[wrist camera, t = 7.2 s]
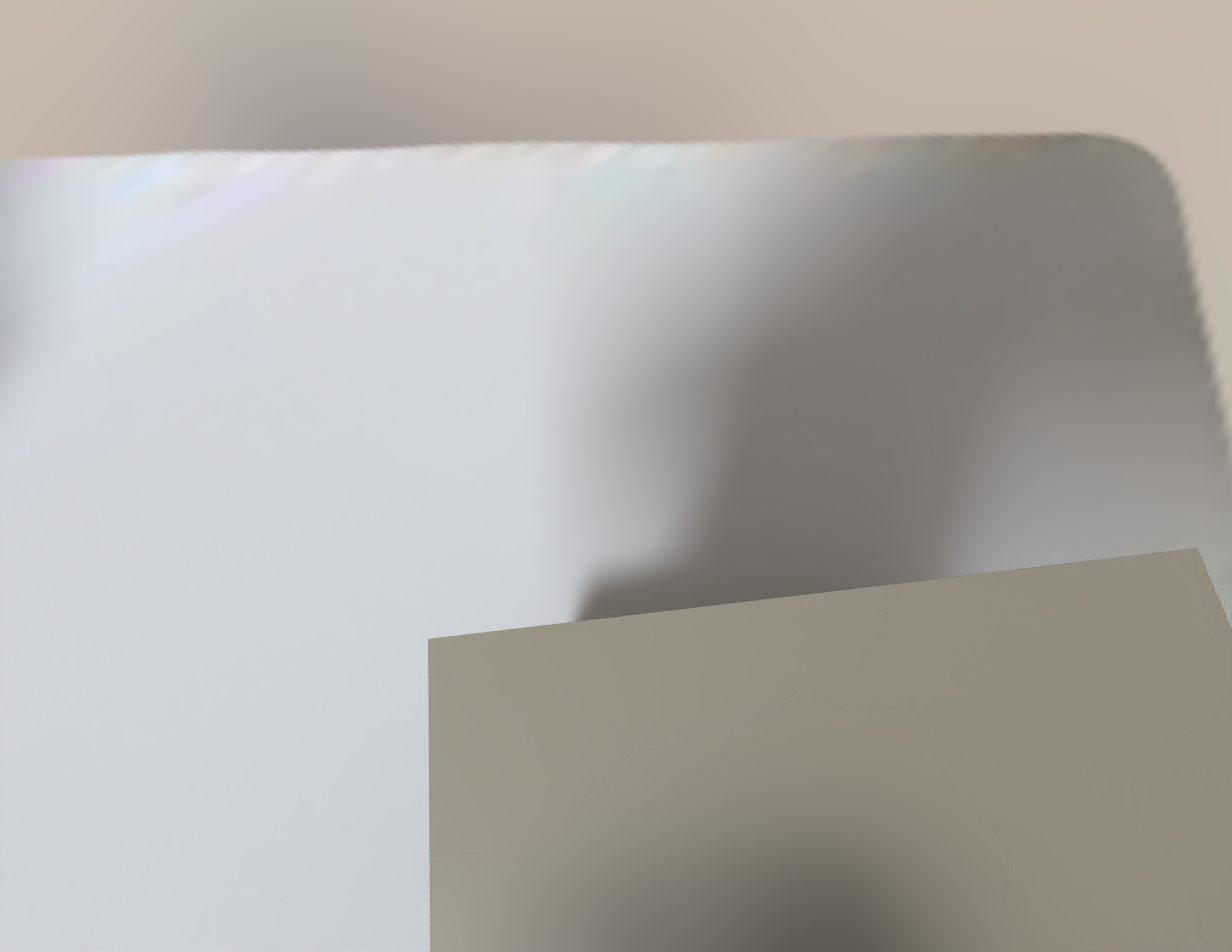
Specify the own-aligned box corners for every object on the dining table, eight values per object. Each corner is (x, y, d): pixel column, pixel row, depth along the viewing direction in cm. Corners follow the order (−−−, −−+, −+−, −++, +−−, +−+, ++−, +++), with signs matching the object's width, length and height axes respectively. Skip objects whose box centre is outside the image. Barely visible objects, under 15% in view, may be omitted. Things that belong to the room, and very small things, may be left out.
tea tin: (868, 959, 15) (1732, 1807, 3) (620, 986, 15) (436, 1912, 3) (816, 700, 17) (1196, 549, 5) (597, 724, 17) (428, 638, 5)
